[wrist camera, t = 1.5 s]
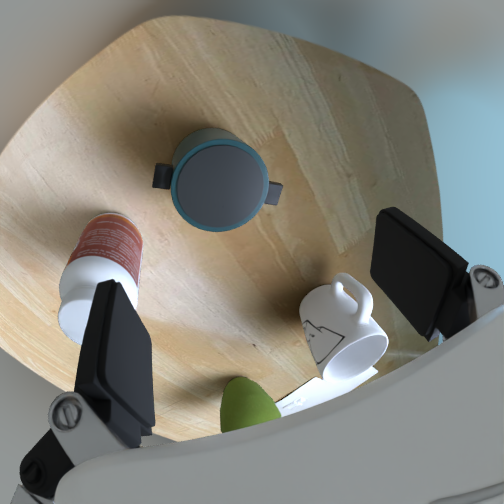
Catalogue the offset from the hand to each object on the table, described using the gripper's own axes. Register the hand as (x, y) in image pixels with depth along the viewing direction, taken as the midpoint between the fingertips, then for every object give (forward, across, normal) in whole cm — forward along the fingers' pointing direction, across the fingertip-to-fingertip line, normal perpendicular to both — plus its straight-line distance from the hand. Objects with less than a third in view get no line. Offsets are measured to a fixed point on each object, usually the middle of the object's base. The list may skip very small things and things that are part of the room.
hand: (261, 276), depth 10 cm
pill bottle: (+17, +10, +5) cm, 20 cm away
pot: (+16, 0, 0) cm, 16 cm away
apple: (+17, +3, +33) cm, 37 cm away
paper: (+16, -11, +49) cm, 53 cm away
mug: (+17, -11, +19) cm, 28 cm away
